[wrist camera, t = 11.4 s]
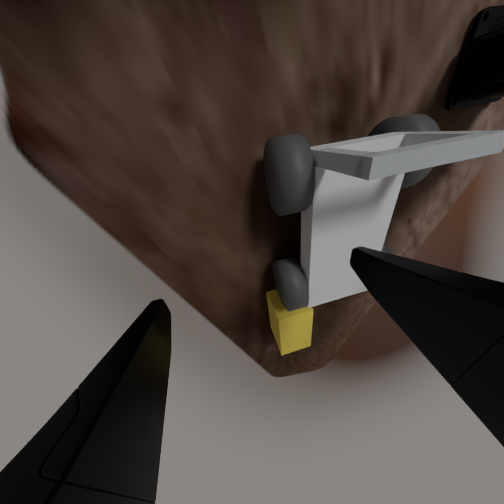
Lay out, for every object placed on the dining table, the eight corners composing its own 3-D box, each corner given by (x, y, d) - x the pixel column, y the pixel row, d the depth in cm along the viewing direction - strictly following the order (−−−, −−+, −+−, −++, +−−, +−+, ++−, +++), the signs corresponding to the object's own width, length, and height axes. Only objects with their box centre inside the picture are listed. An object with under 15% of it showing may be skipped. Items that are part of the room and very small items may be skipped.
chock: (295, 283, 27) (313, 309, 23) (295, 318, 32) (310, 345, 27) (266, 291, 27) (278, 320, 22) (270, 326, 31) (281, 355, 27)
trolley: (260, 137, 16) (331, 139, 8) (385, 116, 18) (560, 99, 9) (273, 287, 26) (311, 362, 18) (353, 265, 28) (423, 324, 19)
